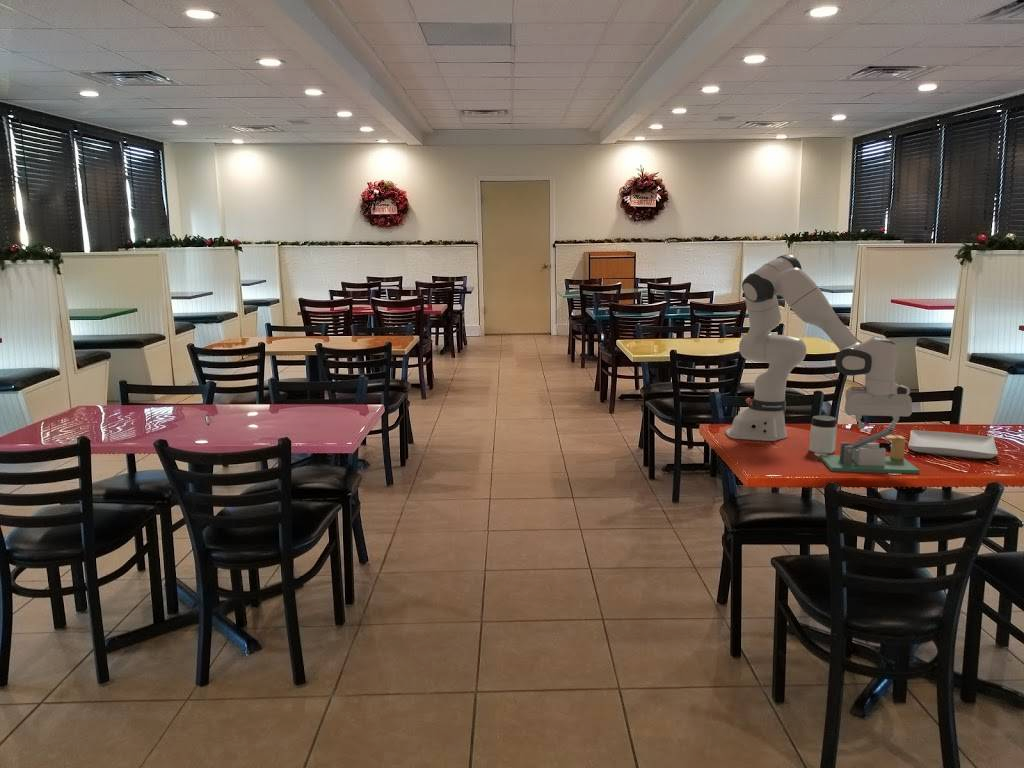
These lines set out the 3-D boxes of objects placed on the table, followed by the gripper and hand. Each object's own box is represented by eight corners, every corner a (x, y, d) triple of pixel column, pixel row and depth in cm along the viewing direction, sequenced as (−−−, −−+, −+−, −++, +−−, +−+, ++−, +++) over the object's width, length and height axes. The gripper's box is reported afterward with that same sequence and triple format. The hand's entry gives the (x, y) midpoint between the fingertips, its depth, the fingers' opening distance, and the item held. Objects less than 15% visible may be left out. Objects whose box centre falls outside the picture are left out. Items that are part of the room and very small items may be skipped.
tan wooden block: (885, 459, 267) (887, 438, 265) (881, 456, 271) (883, 435, 269) (903, 459, 266) (905, 438, 265) (899, 456, 270) (901, 435, 269)
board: (831, 471, 258) (833, 450, 256) (819, 458, 273) (820, 438, 272) (919, 473, 254) (921, 452, 253) (901, 460, 270) (903, 440, 269)
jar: (840, 452, 280) (843, 419, 278) (823, 455, 277) (825, 421, 275) (820, 446, 288) (822, 414, 286) (804, 449, 285) (806, 416, 283)
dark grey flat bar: (845, 452, 262) (844, 449, 262) (843, 449, 265) (841, 447, 265) (893, 433, 259) (892, 430, 259) (890, 431, 262) (889, 428, 262)
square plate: (992, 445, 289) (994, 435, 289) (997, 464, 266) (998, 453, 265) (910, 437, 302) (910, 427, 301) (907, 454, 278) (908, 444, 278)
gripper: (848, 388, 257) (845, 430, 259) (915, 389, 254) (912, 431, 257) (843, 385, 263) (840, 425, 266) (908, 386, 261) (905, 427, 263)
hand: (876, 428), depth 261 cm, fingers open, 8 cm apart
